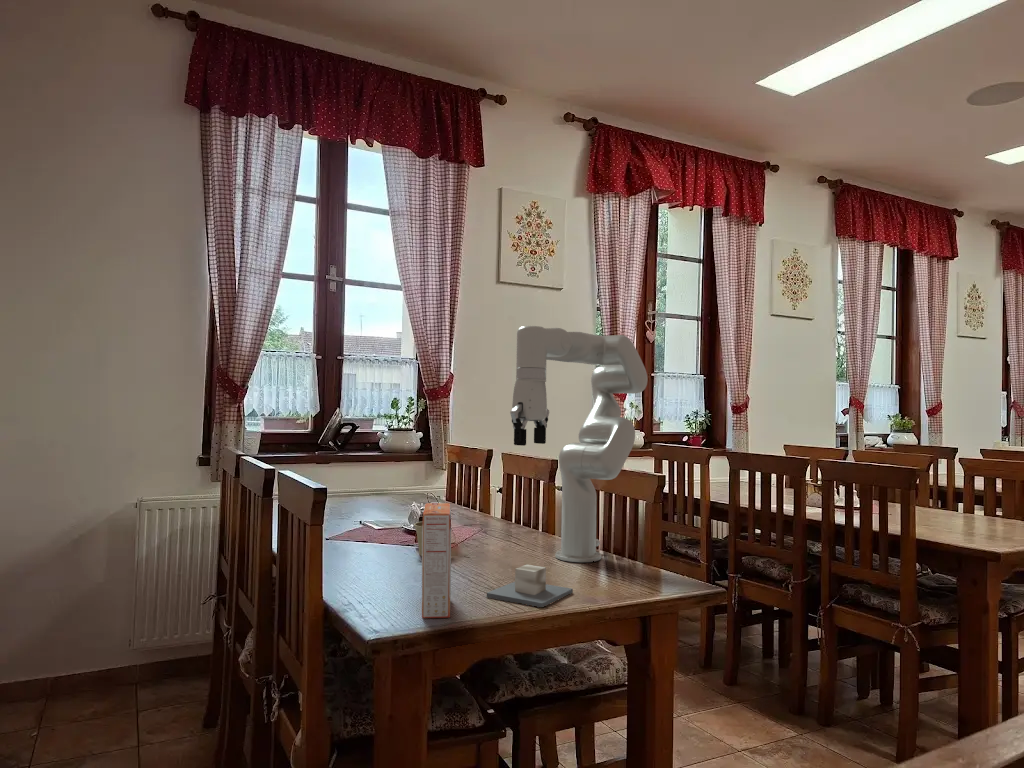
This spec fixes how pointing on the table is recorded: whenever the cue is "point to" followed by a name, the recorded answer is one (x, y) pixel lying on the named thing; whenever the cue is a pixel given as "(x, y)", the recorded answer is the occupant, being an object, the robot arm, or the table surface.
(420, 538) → the flower pot
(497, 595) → the slate board
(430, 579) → the cracker box
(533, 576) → the cream cube
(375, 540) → the table surface
